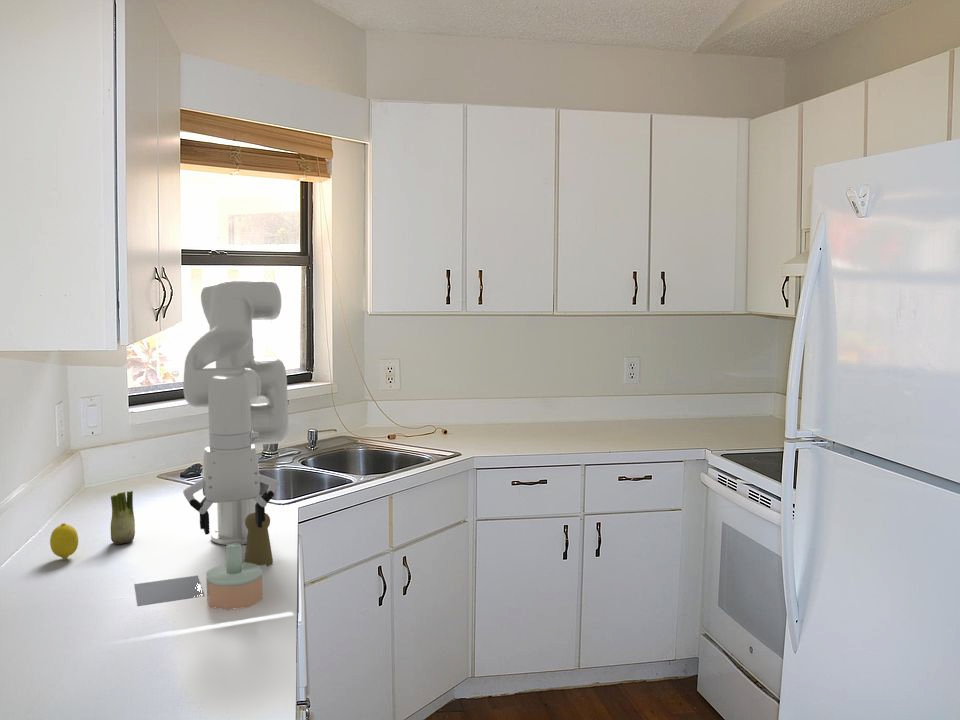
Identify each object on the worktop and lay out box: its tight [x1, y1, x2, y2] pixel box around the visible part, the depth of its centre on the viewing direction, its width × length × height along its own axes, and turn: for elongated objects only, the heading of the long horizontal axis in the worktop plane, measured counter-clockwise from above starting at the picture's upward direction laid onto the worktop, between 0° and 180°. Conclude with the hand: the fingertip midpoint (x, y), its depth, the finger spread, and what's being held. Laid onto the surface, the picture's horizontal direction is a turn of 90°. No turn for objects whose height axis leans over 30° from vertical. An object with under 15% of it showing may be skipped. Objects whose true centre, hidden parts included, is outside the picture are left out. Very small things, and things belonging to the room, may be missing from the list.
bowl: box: [206, 575, 263, 610], centre depth 160 cm, size 10×10×5 cm
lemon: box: [49, 522, 79, 560], centre depth 184 cm, size 6×6×8 cm
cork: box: [244, 512, 274, 567], centre depth 181 cm, size 6×6×11 cm
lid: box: [206, 543, 263, 586], centre depth 160 cm, size 10×10×6 cm
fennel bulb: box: [110, 490, 136, 545], centre depth 195 cm, size 6×5×12 cm
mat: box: [134, 575, 205, 607], centre depth 165 cm, size 12×12×1 cm
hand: (233, 528), depth 160 cm, fingers open, 9 cm apart
